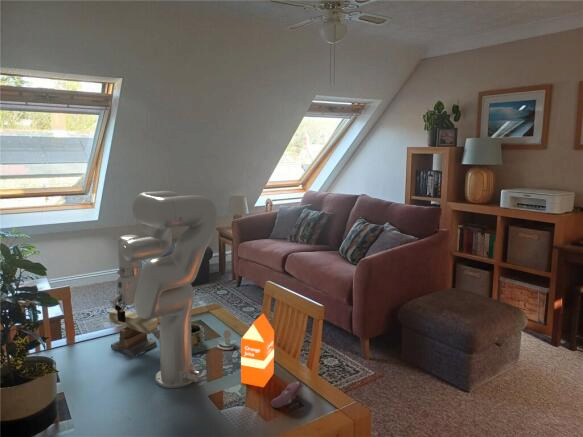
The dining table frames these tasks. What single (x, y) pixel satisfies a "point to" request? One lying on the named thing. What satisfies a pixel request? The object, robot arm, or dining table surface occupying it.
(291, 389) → the purple oblong lump
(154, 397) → the dining table surface
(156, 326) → the pine batten
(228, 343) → the pacifier
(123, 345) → the ridge stand
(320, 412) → the dining table surface
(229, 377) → the dining table surface
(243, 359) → the orange juice
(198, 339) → the vessel
